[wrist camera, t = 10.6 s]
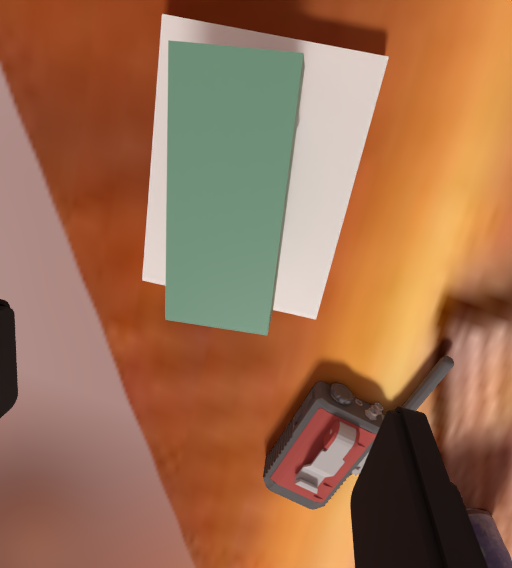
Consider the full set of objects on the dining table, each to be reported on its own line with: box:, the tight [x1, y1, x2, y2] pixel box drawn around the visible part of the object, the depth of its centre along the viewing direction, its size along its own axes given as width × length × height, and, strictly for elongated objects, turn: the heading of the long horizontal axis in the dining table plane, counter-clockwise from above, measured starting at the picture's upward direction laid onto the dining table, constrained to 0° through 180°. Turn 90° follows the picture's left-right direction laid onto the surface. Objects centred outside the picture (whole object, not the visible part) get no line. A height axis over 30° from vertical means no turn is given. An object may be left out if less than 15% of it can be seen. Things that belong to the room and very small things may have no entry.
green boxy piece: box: [165, 40, 305, 335], centre depth 22 cm, size 6×14×4 cm, turn 174°
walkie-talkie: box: [263, 356, 454, 509], centre depth 34 cm, size 9×4×20 cm
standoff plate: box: [142, 14, 389, 319], centre depth 26 cm, size 14×18×6 cm
